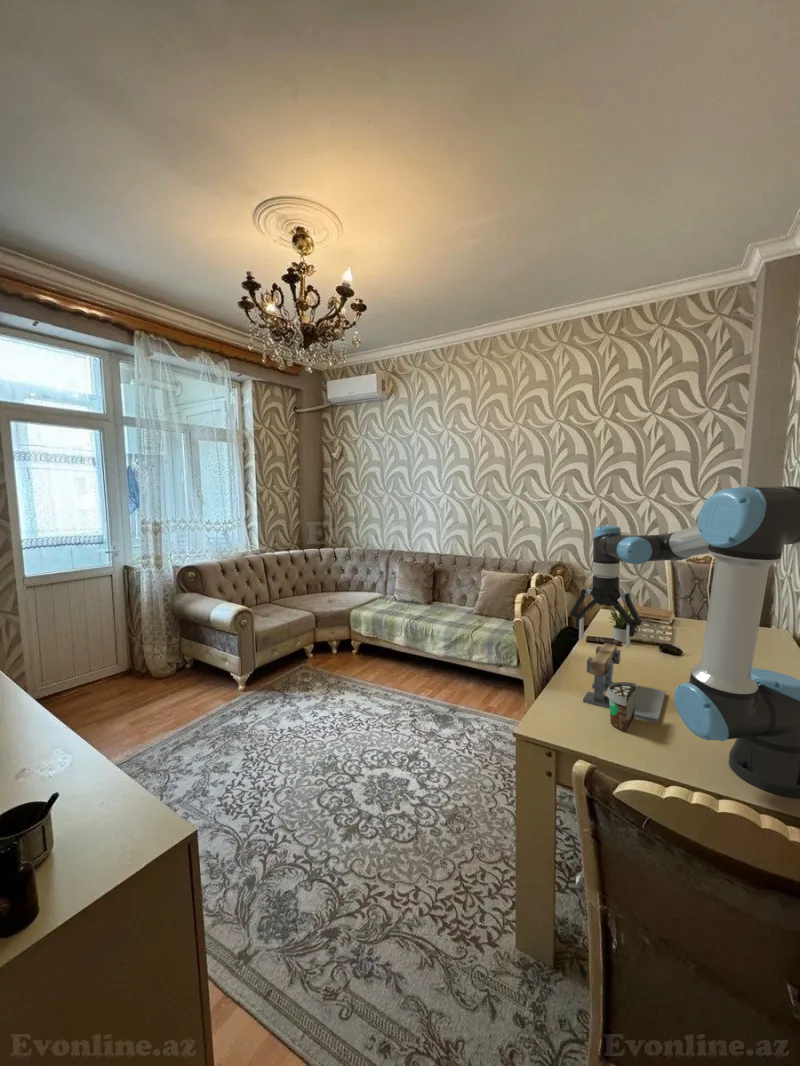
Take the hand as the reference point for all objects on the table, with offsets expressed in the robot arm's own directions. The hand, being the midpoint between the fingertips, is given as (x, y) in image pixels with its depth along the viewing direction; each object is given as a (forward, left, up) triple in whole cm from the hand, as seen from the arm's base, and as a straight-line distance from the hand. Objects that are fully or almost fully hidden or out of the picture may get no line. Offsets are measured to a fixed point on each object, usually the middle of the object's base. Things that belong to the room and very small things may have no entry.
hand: (603, 642), depth 137 cm
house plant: (+58, +3, -17) cm, 60 cm away
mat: (0, -12, -17) cm, 21 cm away
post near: (-6, 0, -17) cm, 18 cm away
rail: (0, 0, -7) cm, 7 cm away
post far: (+6, 0, -17) cm, 18 cm away
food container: (-16, -7, -17) cm, 25 cm away
